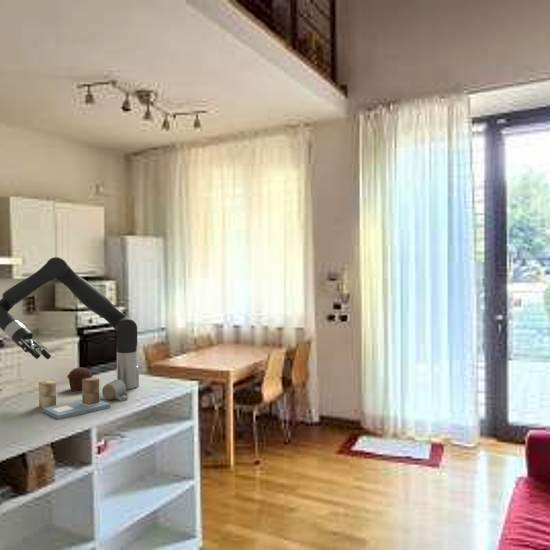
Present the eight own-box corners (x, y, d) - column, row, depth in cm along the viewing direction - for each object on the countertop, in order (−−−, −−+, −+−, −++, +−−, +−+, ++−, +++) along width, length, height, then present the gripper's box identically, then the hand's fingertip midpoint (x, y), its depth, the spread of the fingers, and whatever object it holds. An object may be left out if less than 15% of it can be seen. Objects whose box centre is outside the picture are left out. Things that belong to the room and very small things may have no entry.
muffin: (97, 389, 252) (96, 368, 251) (73, 393, 244) (73, 371, 244) (86, 385, 261) (86, 364, 260) (63, 388, 253) (63, 367, 253)
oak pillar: (50, 403, 228) (50, 380, 227) (56, 406, 224) (55, 382, 224) (39, 406, 224) (38, 382, 224) (44, 408, 221) (43, 384, 220)
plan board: (93, 401, 232) (93, 397, 232) (110, 407, 222) (110, 403, 222) (43, 411, 216) (42, 408, 216) (58, 419, 206) (58, 415, 206)
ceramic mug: (100, 400, 234) (100, 382, 233) (112, 395, 241) (112, 378, 241) (121, 402, 230) (121, 384, 230) (132, 397, 238) (132, 380, 238)
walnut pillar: (93, 400, 227) (93, 377, 226) (99, 402, 223) (99, 379, 223) (82, 402, 223) (82, 379, 223) (88, 405, 220) (87, 381, 219)
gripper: (14, 325, 223) (41, 350, 220) (33, 327, 237) (58, 351, 234) (2, 339, 223) (29, 364, 220) (22, 340, 237) (47, 364, 234)
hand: (44, 357), depth 227 cm, fingers open, 8 cm apart
